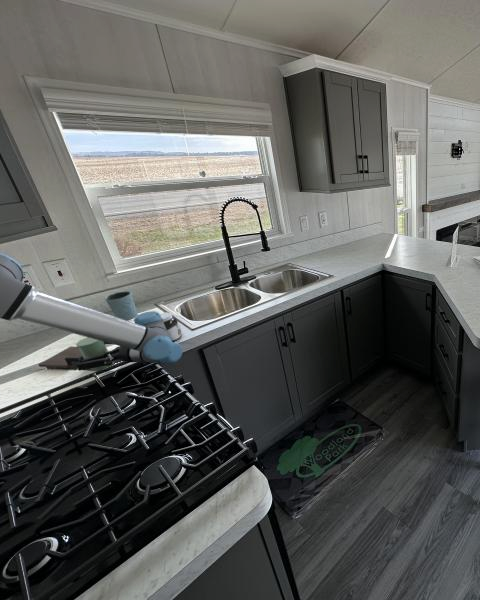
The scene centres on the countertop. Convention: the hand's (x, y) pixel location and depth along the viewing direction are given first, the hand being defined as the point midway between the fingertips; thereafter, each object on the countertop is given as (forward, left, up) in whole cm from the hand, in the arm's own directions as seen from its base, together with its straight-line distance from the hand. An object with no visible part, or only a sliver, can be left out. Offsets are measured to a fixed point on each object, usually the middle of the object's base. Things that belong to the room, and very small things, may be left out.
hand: (85, 350), depth 121 cm
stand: (+2, +12, -8) cm, 14 cm away
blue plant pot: (+40, +24, -8) cm, 47 cm away
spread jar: (+21, -13, -8) cm, 26 cm away
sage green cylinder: (0, -3, -8) cm, 8 cm away
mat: (0, -3, -8) cm, 9 cm away
